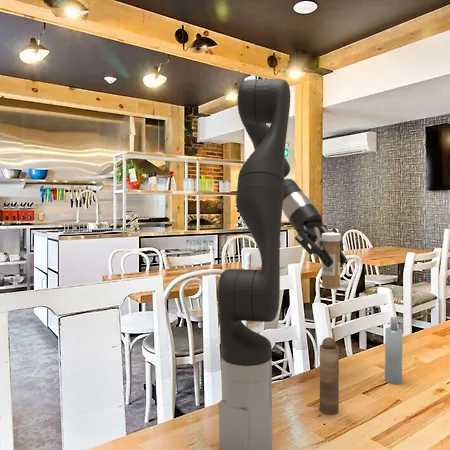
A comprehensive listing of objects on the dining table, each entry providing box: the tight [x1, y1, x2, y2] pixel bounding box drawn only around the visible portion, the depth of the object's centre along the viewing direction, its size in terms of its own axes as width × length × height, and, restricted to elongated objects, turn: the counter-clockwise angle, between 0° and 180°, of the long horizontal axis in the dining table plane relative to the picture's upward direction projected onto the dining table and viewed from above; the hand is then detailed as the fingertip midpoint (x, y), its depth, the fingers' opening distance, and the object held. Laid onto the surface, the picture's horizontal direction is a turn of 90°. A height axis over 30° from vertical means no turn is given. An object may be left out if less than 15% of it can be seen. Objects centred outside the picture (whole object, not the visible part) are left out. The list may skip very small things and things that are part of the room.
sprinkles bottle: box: [321, 232, 342, 290], centre depth 105 cm, size 5×5×13 cm
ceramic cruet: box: [384, 316, 404, 385], centre depth 106 cm, size 4×4×16 cm
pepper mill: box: [319, 337, 340, 416], centre depth 92 cm, size 4×4×16 cm
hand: (337, 263), depth 103 cm, fingers closed on sprinkles bottle, 4 cm apart
